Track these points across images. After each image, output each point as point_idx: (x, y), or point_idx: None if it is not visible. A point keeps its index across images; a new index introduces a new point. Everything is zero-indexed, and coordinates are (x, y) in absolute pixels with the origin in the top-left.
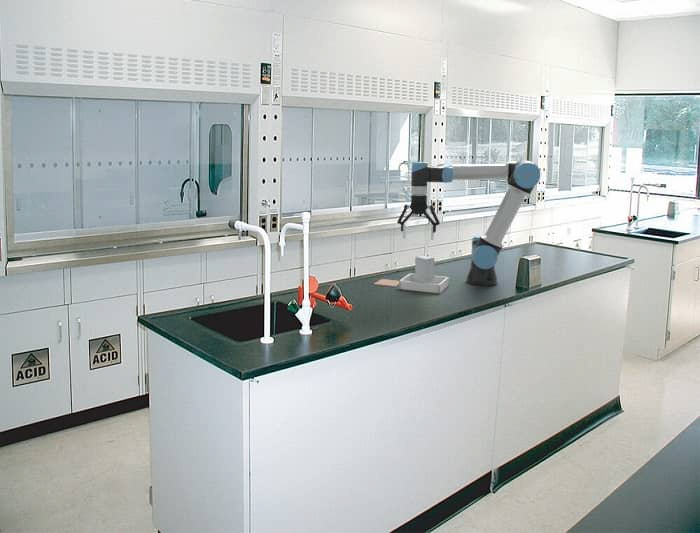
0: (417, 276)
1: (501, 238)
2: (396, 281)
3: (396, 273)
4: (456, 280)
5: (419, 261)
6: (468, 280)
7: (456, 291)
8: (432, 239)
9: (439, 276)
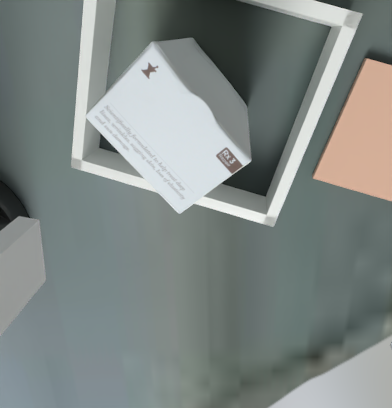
0: (235, 98)
1: None
2: (346, 167)
3: (324, 328)
4: (72, 239)
5: (216, 105)
6: (10, 203)
7: (34, 25)
8: (18, 218)
9: (119, 174)
